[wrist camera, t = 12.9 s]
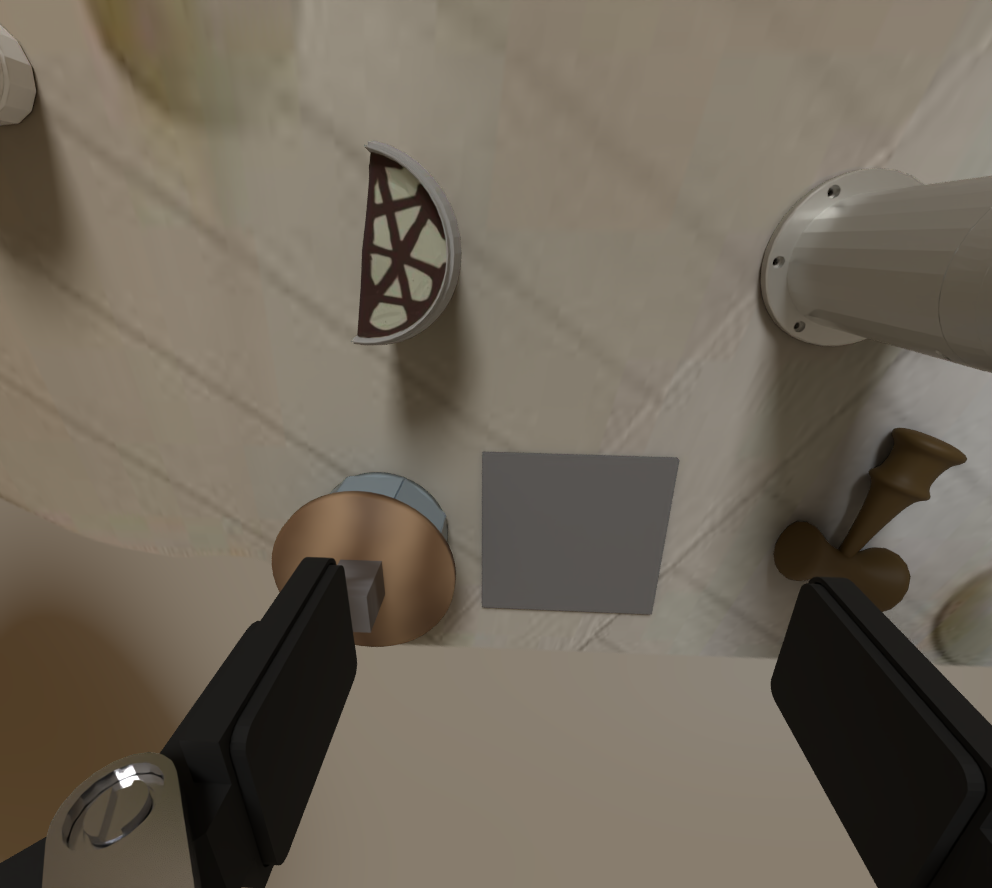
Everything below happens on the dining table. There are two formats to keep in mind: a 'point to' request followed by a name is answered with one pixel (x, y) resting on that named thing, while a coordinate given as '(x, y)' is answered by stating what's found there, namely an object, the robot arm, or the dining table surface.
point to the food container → (405, 249)
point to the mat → (574, 530)
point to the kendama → (871, 523)
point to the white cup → (14, 81)
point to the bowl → (398, 494)
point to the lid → (374, 562)
